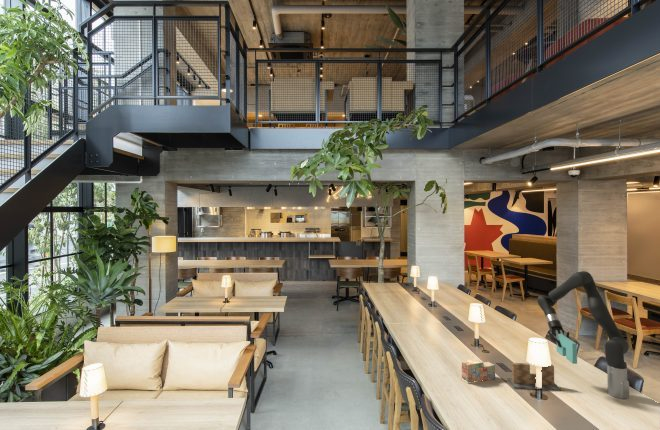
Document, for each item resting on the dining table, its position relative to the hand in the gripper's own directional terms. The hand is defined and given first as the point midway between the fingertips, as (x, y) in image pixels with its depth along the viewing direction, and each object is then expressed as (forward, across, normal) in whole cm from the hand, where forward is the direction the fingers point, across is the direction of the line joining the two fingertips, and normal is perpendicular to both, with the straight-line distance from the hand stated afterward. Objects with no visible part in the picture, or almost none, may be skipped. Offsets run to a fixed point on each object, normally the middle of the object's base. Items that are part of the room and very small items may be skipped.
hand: (563, 346), depth 232 cm
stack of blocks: (+16, -52, +18) cm, 57 cm away
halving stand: (+19, -20, +14) cm, 31 cm away
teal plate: (+6, 0, +1) cm, 6 cm away
